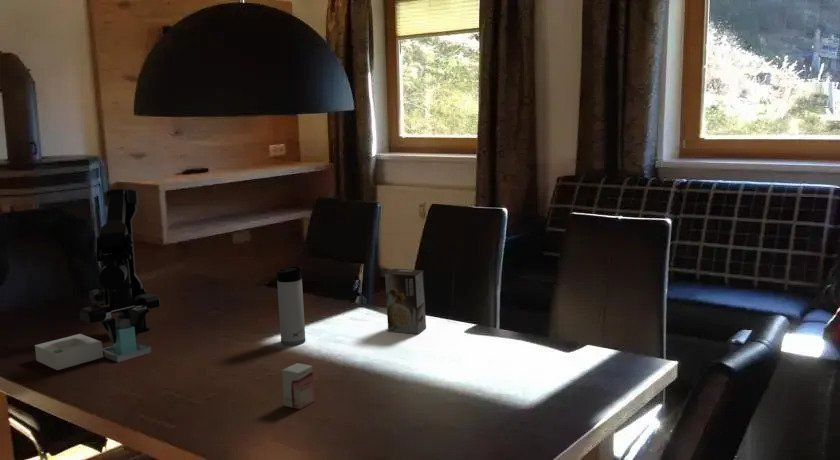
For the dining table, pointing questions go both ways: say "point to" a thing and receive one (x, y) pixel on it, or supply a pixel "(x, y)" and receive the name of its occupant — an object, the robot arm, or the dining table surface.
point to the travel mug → (291, 306)
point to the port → (68, 351)
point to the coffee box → (405, 301)
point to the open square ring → (118, 358)
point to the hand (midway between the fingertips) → (124, 340)
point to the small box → (298, 385)
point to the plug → (124, 337)
